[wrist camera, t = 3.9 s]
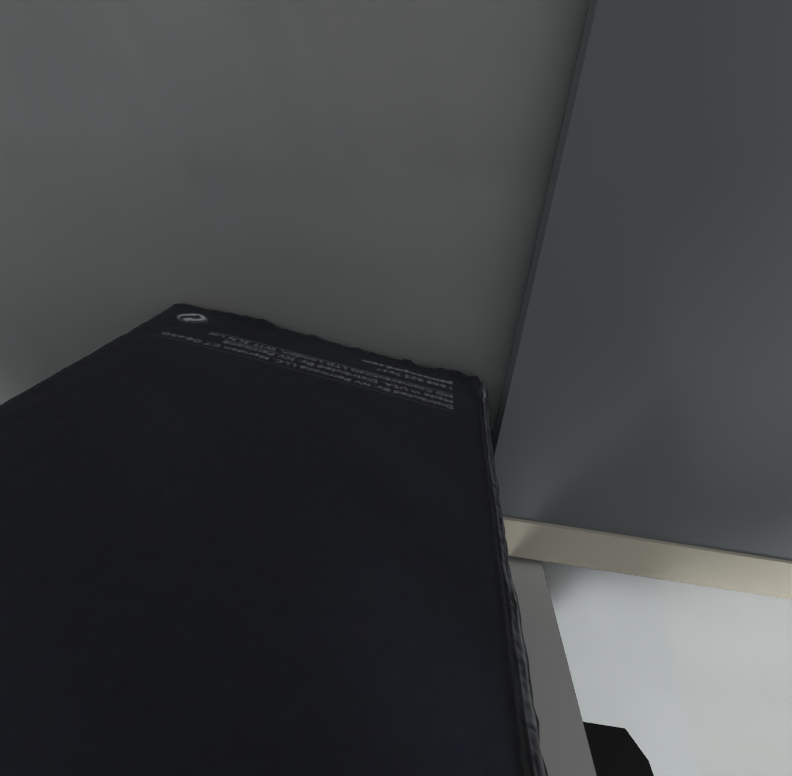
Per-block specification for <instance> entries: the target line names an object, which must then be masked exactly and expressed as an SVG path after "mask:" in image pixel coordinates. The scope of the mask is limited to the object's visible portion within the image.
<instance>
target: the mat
mask: <svg viewBox="0 0 792 776" xmlns="http://www.w3.org/2000/svg"><path fill="white" fill-rule="evenodd" d="M492 445H493V450H494V463H495V473H496V477H497V481H498V485H499V500H500V505H501V509H502V514H503V522H504V527H505V538H506V541H507V546H508V556H514V557H520V558H527V559H533V560H540V561H546V562H553V563H559V564H565V565H572V566H578V567H585V568H591V569H598V570H604V571H611V572H617V573H624V574H630V575H637V576H643V577H649V578H656V579H662V580H669V581H675V582H682V583H688V584H695V585H701V586H708V587H714V588H721V589H727V590H733V591H740V592H746V593H753V594H759V595H766V596H772V597H779V598H785V599H792V0H590V2H589V6H588V11H587V15H586V20H585V24H584V29H583V33H582V38H581V42H580V47H579V51H578V56H577V60H576V65H575V69H574V74H573V78H572V83H571V87H570V92H569V96H568V101H567V105H566V110H565V114H564V119H563V123H562V128H561V132H560V137H559V141H558V146H557V150H556V154H555V159H554V163H553V168H552V172H551V177H550V181H549V186H548V190H547V195H546V199H545V204H544V208H543V213H542V217H541V222H540V226H539V231H538V235H537V240H536V244H535V249H534V253H533V258H532V262H531V267H530V271H529V276H528V280H527V285H526V289H525V294H524V298H523V302H522V307H521V311H520V316H519V320H518V325H517V329H516V334H515V338H514V343H513V347H512V352H511V356H510V361H509V365H508V370H507V374H506V379H505V383H504V388H503V392H502V397H501V401H500V406H499V410H498V415H497V419H496V424H495V428H494V433H493V437H492Z"/></svg>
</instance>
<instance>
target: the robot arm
mask: <svg viewBox="0 0 792 776" xmlns="http://www.w3.org/2000/svg"><path fill="white" fill-rule="evenodd" d="M508 563H509V567H510V571H511V576H512V581H513V584H514V587H515V590H516V593H517V596H518V603H519V609H520V614H521V625H522V632H523V637H524V642H525V645H526V650H527V655H528V660H529V669H530V679H531V685H532V692H533V702H534V708H535V711H536V714H537V717H538V720H539V733H540V751H541V754H542V757H543V760H544V763H545V766H546V769H547V773H548V776H654V775H653V772H652V769H651V767H650V764H649V761H648V759H647V758H646V757H645V755H644V754H643V753H642V751H641V750H640V748H639V747H638V746H637V744H636V743H635V741H634V740H633V739H632V737H631V736H630V735H629V733H628V732H627V730H626V729H625V728H618V727H612V726H606V725H599V724H593V723H587V722H583V721H582V717H581V713H580V709H579V705H578V702H577V698H576V694H575V690H574V686H573V682H572V678H571V674H570V671H569V667H568V663H567V659H566V655H565V651H564V647H563V643H562V640H561V636H560V632H559V628H558V624H557V620H556V616H555V612H554V609H553V605H552V601H551V597H550V593H549V589H548V585H547V581H546V578H545V574H544V570H543V566H542V562H541V561H540V560H533V559H527V558H520V557H514V556H508Z"/></svg>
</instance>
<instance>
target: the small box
mask: <svg viewBox="0 0 792 776" xmlns="http://www.w3.org/2000/svg"><path fill="white" fill-rule="evenodd" d="M487 398H488V394H487V390H486V389H485V387H484V386H483V384H482V382H481V381H480V380H479V378H478V377H477V376H471V377H467V376H466V375H464V374H463V373H461V372H459V371H453V370H446V369H442V368H437V369H431V368H425V367H421V366H419V365H416V364H414V363H413V362H412V361H411V360H407V359H404V360H396V359H392V358H389V357H386V356H381V355H378V354H375V353H370V352H365V351H362V350H361V349H359V348H350V347H345V346H342V345H339V344H336V343H332V342H328V341H325V340H322V339H320V338H318V337H316V336H314V335H303V334H299V333H295V332H292V331H289V330H285V329H280V328H277V327H275V326H274V325H273V324H271V323H270V322H268V321H266V320H263V319H254V318H251V317H248V316H239V315H236V314H233V313H224V312H219V311H213V310H206V309H202V308H198V307H195V306H191V305H187V304H174V305H173V306H171V307H170V308H169V309H167V310H165V311H164V312H162V313H161V314H159V315H157V316H156V317H154V318H152V319H150V320H148V321H147V322H145V323H143V324H141V325H139V326H138V327H136V328H135V329H133V330H132V331H130V332H128V333H127V334H125V335H122V336H120V337H118V338H117V339H115V340H113V341H111V342H110V343H108V344H106V345H105V346H103V347H102V348H100V349H98V350H97V351H95V352H93V353H92V354H90V355H88V356H86V357H84V358H83V359H81V360H79V361H77V362H75V363H74V364H72V365H70V366H68V367H66V368H64V369H63V370H61V371H59V372H58V373H56V374H54V375H53V376H51V377H49V378H48V379H46V380H44V381H42V382H41V383H39V384H37V385H35V386H34V387H32V388H30V389H28V390H26V391H25V392H23V393H21V394H19V395H17V396H16V397H14V398H12V399H10V400H9V401H7V402H5V403H4V404H2V405H0V776H548V773H547V769H546V766H545V763H544V760H543V757H542V754H541V751H540V733H539V720H538V717H537V714H536V711H535V708H534V702H533V692H532V685H531V679H530V669H529V660H528V655H527V650H526V645H525V642H524V637H523V632H522V625H521V614H520V609H519V603H518V596H517V593H516V590H515V587H514V584H513V581H512V576H511V571H510V567H509V563H508V546H507V541H506V538H505V527H504V522H503V514H502V509H501V505H500V500H499V485H498V481H497V477H496V473H495V463H494V450H493V445H492V440H491V434H492V431H491V423H490V418H489V411H488V399H487Z"/></svg>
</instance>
